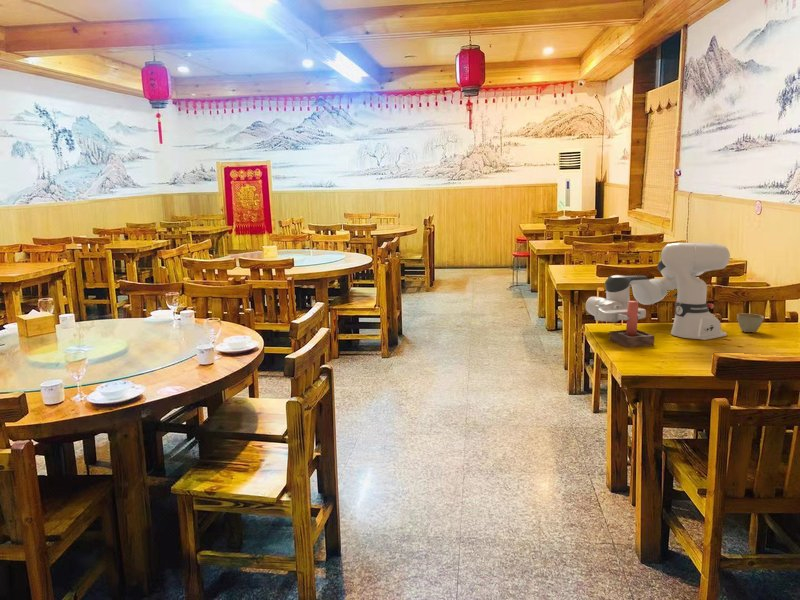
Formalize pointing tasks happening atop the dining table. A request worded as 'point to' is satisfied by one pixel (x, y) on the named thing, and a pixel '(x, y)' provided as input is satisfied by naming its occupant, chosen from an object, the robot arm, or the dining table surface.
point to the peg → (632, 318)
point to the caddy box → (631, 339)
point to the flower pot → (749, 322)
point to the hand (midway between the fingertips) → (633, 317)
